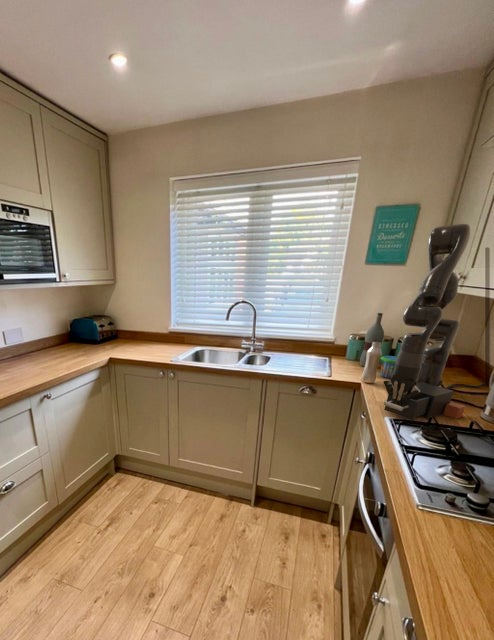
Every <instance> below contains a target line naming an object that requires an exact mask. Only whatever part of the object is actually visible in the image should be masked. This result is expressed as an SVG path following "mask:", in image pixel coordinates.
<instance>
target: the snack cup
mask: <svg viewBox="0 0 494 640" xmlns="http://www.w3.org/2000/svg"><path fill="white" fill-rule="evenodd" d="M397 357H398V356H394V355H383V356H381V358H380V360H379V361H381V368H380V376H381V377H382V378H385V379H391V377H392V376H393V371H394V368H395V364H396V359H397Z"/></svg>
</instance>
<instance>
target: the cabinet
mask: <svg viewBox="0 0 494 640" xmlns="http://www.w3.org/2000/svg"><path fill="white" fill-rule="evenodd" d="M416 387H417V388H418V389H421V391H422V392H421V393H419V394H422V395H426V396H429V397H432V399H431V402H430V405H429V408H428V411H427V414H424V415H420V416H419V417H422V418H425V419H429V417H430V416H432V417H430V418H433V417H436V416H440V415H444V414H443V413H444V411H445V408H446V405H447V404H449V403H451V401H452V397H453V395H454V390H452V389H450V388H449V389H445V388H446V387H445V388H442V387H441V386H434V385H431V384H427V383H424V382H421V383H417V384H416ZM412 389H413V388H412ZM412 389H411V390H412ZM411 390H410V391H411Z"/></svg>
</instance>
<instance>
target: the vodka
mask: <svg viewBox="0 0 494 640" xmlns="http://www.w3.org/2000/svg"><path fill="white" fill-rule="evenodd" d="M383 315H384V313H383V312H377V314H376V319H375V322H374V323H373V325H371V327H369V329H368V330H367V331H366V333H365V337H364V344H363V350H362V353H361V355H360V358H359V365H360V366H361V367H364V368H365V364H366V355H367V351H368V350H369V349H370V348H371V347H372V343H373V342H381V345H382V344H383V341H384V339H385V330H384V329H383V328H384V327H383V326H382V320H383V319H382V318H383Z"/></svg>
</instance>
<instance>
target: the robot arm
mask: <svg viewBox="0 0 494 640" xmlns="http://www.w3.org/2000/svg"><path fill="white" fill-rule="evenodd" d="M470 237H471V226H470V225H469V223H457V224H449V225H442V226H441V225H439V226H437V227H434V228H433V229H432V230H431V231H430V233H429V235H428V241H427V253H428V273H427V274H426V275H425V276H424V278H423V279H422V281H421V284H420V287H419V289H418V291H417V295H416V296H415V297H414V299H413V300H412V301H411V303H410V304H409V305H408V306H407V308H406V309H405V310H404V312H403V315H402V322H403V324H404V325H405V326H409V327H416V328H424V329H423V330H422V331H420V332H409V333H406V334H405V335H404V336H403V338H402V342H401V346H400V349H399V352H398V354H397V356H396V357H397V359H396V364H395V368H394V371H393V376H392V377H391V378H389V379H387V380H386V379H385V380H383V381H382V382H383V386H384V388H385V390H386V393H387V396H388V395H389V396H392V397H393V401H392V403H393V404H396V405H399V406H402V402H403V400H404V401H405V400H409V399H411V398H412V397H414V396H416V395H417V394H419V393H421V392H422V391H421V389H418V388H417V387H416V384H417V383H421V382H424V383H427V384H431V385H434V386H438V387H442V388H445V389H449V390H450V389H451V388H453V387H455V386H461V387H468V388H473V389H475V388H476V389H477V388H481V387H482V386H483V387H485V385H486V384H485V382H481V383H480V384H479V385H473V384H467V383H458V382H457V383H452V384H451V385H448V386H445V385H444V383H443V382H444V380H442V377H443V374H444V370H445V368H446V364H447V361H448V358H449V355H450V352H451V350H452V347H453V344H454V341H455V340H456V336H457V335H458V331H459V329H460V321H459V320H458V319H451V318H443V315H444V312H443V310H445V309H446V308H447V307H448V306H449V305H450V304H452V303H453V302H454V300H455V299H456V298H457V296H458V291H459V278H458V276H457V275H456V273H455V272H454V270H455V268H456V267H457V265H458V263H459V262H460V260H461V258H462V255H463V254H464V252H465V250H466V249H467V246H468V243H469V241H470ZM443 255H447V256H446V257H445V258H443ZM429 339H430V340H434V341H441V344H439V345H434V346H433V345H432V346H427V345H428V342H429ZM412 388H413V389H412ZM411 389H412V390H411ZM409 390H411V393H410V394H408V395H407V396H406V394H407V392H408V391H409ZM393 409H394V408H393ZM395 410H396V409H395Z"/></svg>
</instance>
